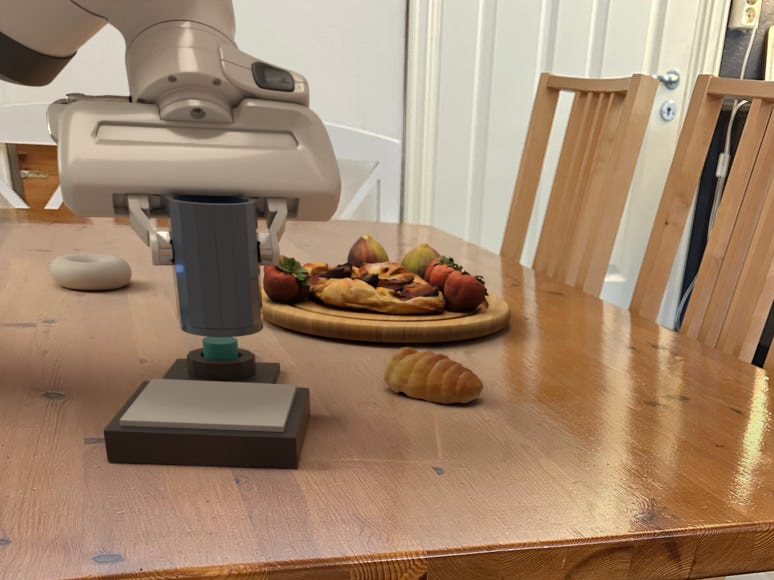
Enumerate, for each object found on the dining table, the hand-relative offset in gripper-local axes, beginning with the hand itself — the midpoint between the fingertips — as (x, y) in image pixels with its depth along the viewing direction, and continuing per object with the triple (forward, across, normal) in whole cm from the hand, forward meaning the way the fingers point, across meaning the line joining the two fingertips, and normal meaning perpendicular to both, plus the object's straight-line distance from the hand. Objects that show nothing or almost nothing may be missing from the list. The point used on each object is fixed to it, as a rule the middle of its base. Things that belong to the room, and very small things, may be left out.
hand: (217, 261), depth 68 cm
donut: (-35, -10, +54) cm, 65 cm away
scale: (+9, -1, +10) cm, 14 cm away
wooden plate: (-20, +24, +40) cm, 51 cm away
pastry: (+2, +20, +17) cm, 27 cm away
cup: (+3, 0, +4) cm, 5 cm away
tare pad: (-2, +1, +22) cm, 22 cm away
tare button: (-4, +1, +20) cm, 20 cm away
